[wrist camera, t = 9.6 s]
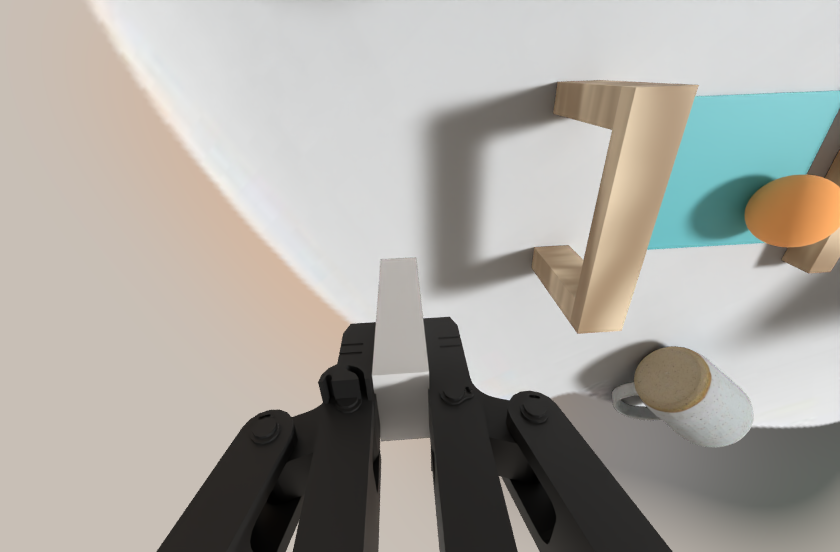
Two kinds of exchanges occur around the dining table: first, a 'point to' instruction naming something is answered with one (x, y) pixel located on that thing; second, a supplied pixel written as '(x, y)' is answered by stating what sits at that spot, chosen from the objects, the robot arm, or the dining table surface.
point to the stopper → (822, 252)
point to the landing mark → (737, 162)
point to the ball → (794, 211)
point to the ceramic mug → (687, 397)
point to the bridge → (616, 196)
